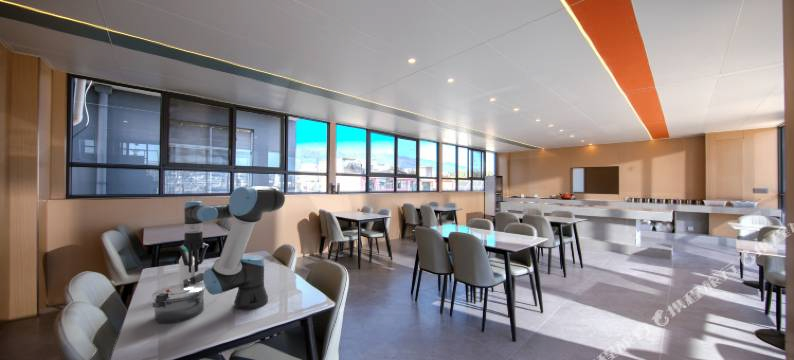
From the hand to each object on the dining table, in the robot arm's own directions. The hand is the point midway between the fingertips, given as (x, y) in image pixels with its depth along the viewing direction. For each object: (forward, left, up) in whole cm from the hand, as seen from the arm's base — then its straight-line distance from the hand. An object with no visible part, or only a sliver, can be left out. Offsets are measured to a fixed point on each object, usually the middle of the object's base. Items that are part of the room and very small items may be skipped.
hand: (193, 278), depth 147 cm
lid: (-5, +10, -2) cm, 11 cm away
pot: (-6, +10, -12) cm, 17 cm away
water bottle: (+16, -11, -12) cm, 23 cm away
